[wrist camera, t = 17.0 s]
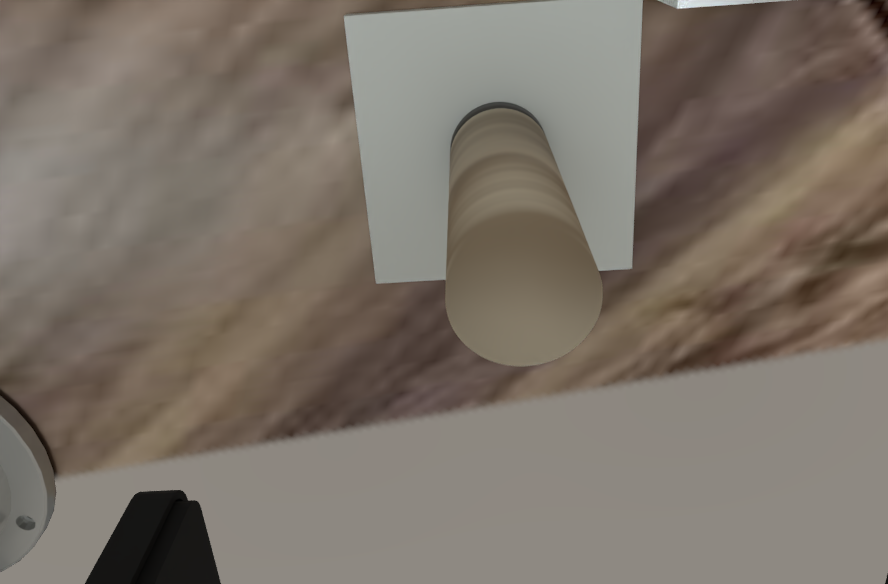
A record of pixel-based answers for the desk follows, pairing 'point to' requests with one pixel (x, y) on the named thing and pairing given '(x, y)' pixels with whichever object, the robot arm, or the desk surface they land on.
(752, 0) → the breaker box
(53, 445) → the desk surface
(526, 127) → the beige cylinder
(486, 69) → the mat
